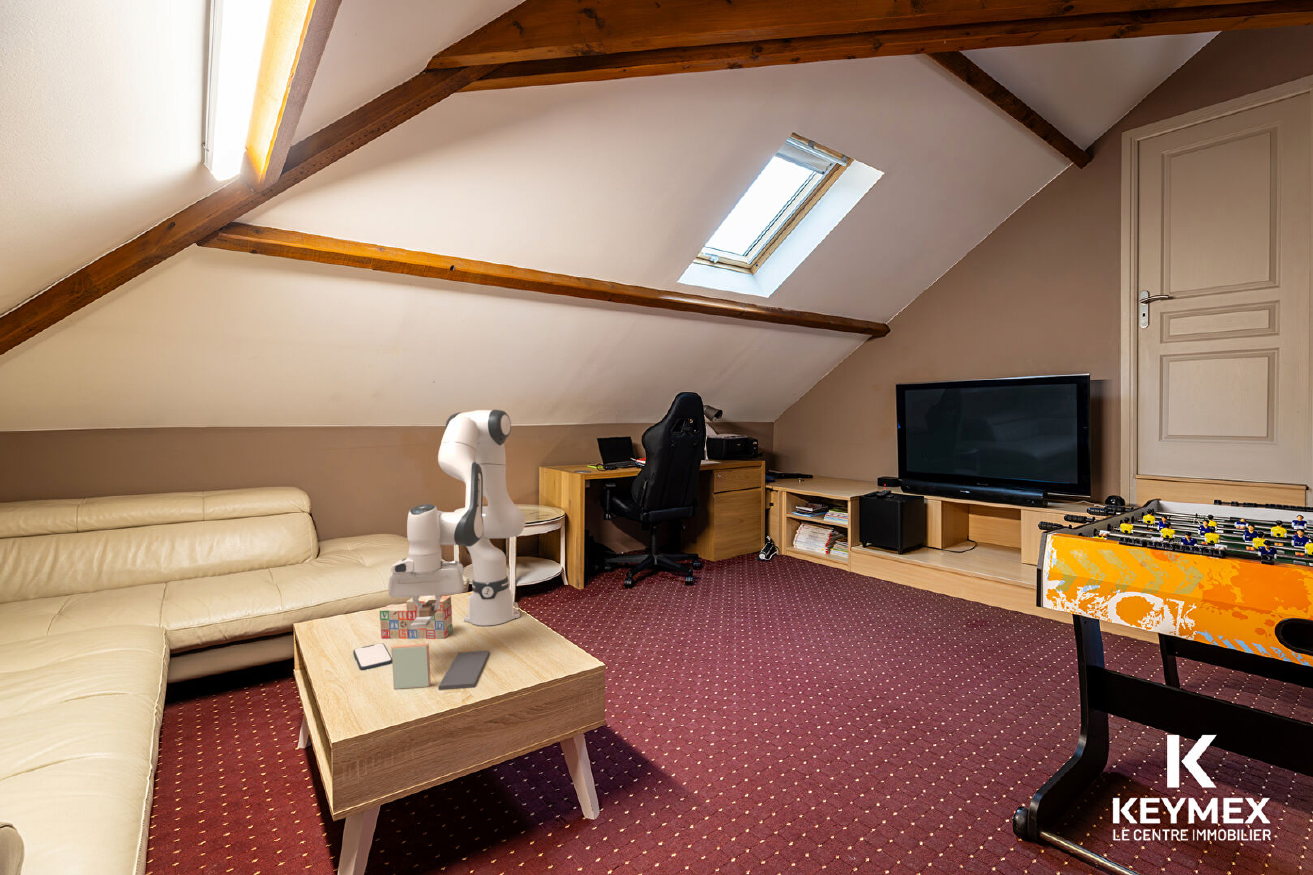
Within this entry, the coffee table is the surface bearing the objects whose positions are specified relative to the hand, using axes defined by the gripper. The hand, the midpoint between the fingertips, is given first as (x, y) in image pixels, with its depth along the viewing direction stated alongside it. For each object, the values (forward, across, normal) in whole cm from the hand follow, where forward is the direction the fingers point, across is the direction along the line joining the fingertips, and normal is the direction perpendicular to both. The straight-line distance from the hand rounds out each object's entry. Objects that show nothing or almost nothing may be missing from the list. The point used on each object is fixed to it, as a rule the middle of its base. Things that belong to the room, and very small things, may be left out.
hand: (427, 610), depth 177 cm
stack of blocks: (+15, +10, -24) cm, 30 cm away
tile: (+15, +1, +15) cm, 22 cm away
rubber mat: (+15, -11, +7) cm, 20 cm away
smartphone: (+16, +18, -7) cm, 25 cm away
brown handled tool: (+2, 0, +2) cm, 3 cm away
